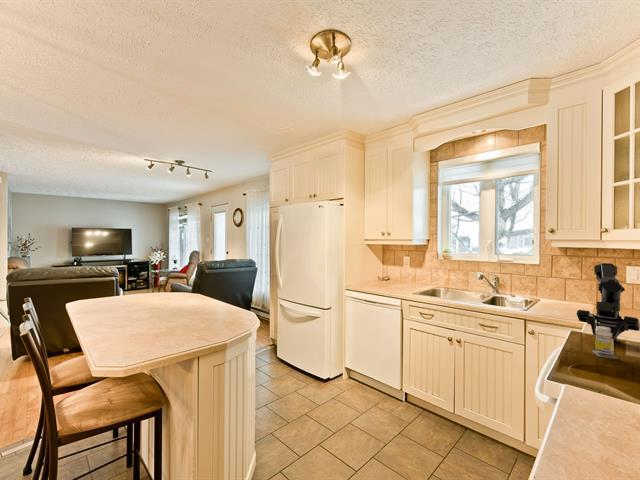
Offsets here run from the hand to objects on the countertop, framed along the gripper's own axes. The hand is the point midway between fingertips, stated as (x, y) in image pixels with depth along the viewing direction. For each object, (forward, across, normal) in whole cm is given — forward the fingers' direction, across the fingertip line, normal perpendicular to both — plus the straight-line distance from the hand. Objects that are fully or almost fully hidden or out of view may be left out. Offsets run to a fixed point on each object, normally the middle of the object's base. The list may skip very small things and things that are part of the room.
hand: (603, 336), depth 122 cm
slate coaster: (+5, 0, +6) cm, 8 cm away
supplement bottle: (+4, 0, +6) cm, 7 cm away
